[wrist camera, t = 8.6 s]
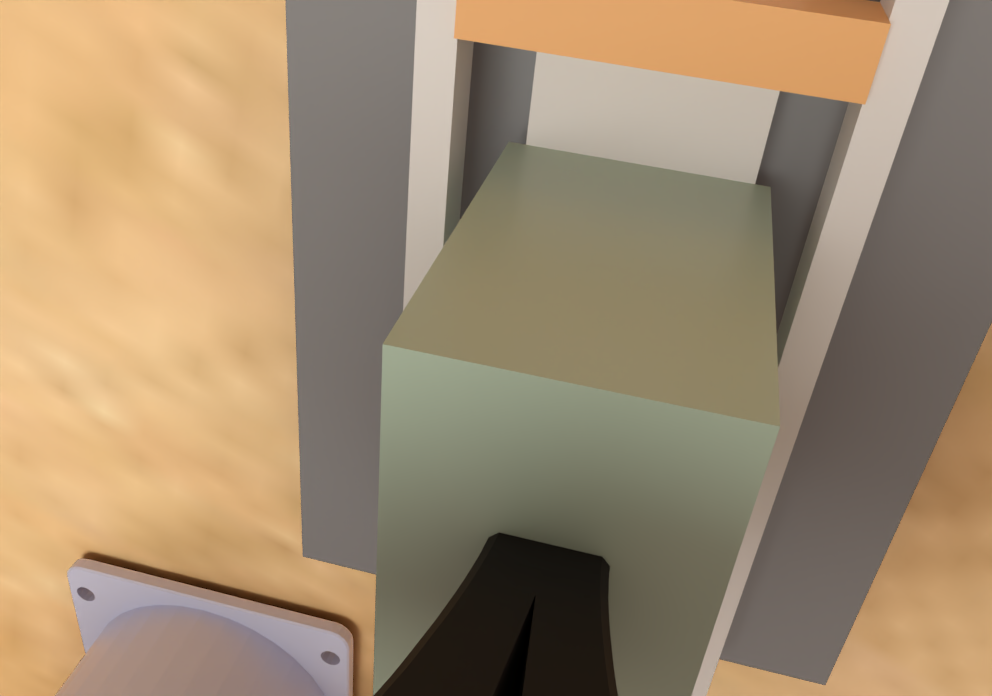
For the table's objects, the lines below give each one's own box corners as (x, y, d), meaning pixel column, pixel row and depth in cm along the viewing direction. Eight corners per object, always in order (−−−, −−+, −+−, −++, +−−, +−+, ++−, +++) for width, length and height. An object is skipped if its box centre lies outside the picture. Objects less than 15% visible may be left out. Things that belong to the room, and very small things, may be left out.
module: (688, 487, 17) (662, 783, 12) (478, 441, 18) (372, 706, 13) (770, 187, 14) (779, 427, 9) (508, 141, 14) (382, 344, 10)
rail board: (822, 648, 21) (831, 767, 19) (319, 526, 23) (266, 621, 20) (1173, -150, 12) (1281, -124, 10) (306, -254, 14) (209, -254, 11)
